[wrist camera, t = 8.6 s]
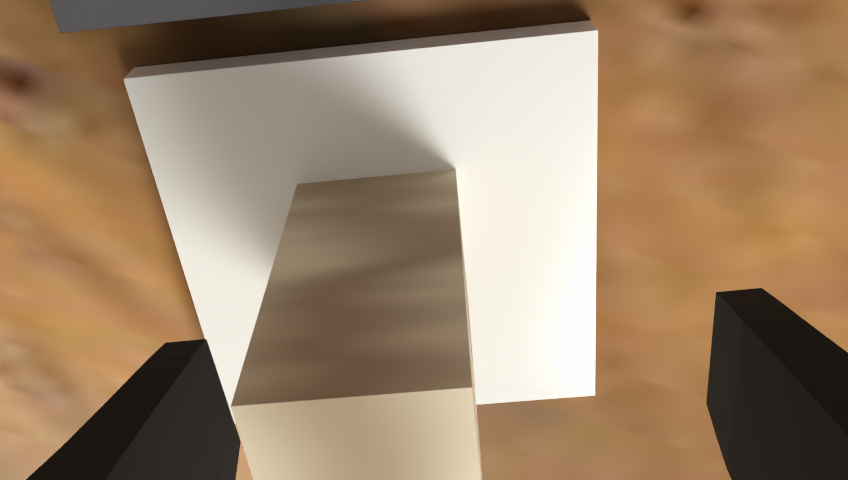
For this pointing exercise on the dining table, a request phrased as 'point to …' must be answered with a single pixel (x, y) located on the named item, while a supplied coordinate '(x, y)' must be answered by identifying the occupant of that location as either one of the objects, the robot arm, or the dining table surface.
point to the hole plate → (160, 11)
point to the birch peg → (364, 338)
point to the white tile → (391, 155)
